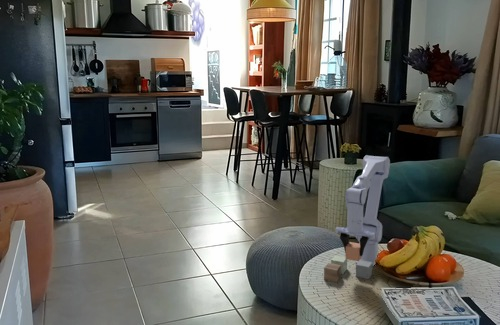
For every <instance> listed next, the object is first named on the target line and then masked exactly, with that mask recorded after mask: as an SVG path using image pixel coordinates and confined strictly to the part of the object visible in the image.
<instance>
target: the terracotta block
mask: <svg viewBox="0 0 500 325" xmlns="http://www.w3.org/2000/svg"><path fill="white" fill-rule="evenodd" d="M345 257H346V258H345V259H347V261H349V260H350V261H355V262H356V261H359V260H360V259H361V257H362V256H360V244H359V242H352V241H349V243H348V245H347V246H346V253H345Z"/></svg>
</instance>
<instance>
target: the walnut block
mask: <svg viewBox="0 0 500 325" xmlns="http://www.w3.org/2000/svg"><path fill="white" fill-rule="evenodd" d="M341 278H342V274H341V265H337V264H332V263H331V262H328V263H327V264H326V265H325V266H324V268H323V280H324V281H328V282H333V283H338V282H339V280H341Z"/></svg>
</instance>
